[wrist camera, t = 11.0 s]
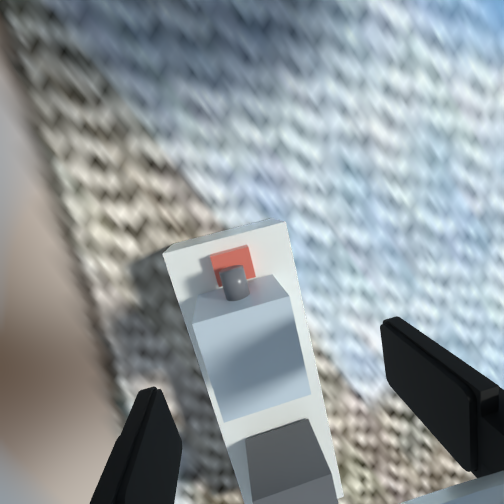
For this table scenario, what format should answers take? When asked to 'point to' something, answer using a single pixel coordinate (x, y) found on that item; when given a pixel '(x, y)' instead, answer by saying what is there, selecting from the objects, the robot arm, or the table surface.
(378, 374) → the table surface
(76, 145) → the table surface
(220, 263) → the power strip
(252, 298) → the grey plug
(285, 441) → the dark grey block
